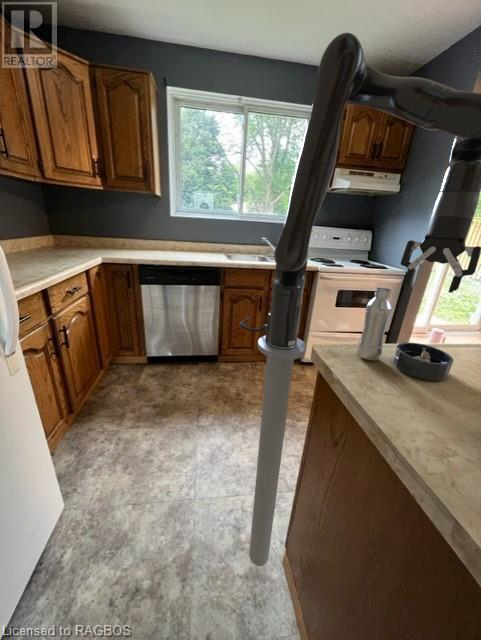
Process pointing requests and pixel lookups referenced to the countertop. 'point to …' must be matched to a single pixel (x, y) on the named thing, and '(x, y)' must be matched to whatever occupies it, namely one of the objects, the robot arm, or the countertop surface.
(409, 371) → the pan
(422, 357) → the figurine
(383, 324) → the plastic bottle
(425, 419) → the countertop surface
